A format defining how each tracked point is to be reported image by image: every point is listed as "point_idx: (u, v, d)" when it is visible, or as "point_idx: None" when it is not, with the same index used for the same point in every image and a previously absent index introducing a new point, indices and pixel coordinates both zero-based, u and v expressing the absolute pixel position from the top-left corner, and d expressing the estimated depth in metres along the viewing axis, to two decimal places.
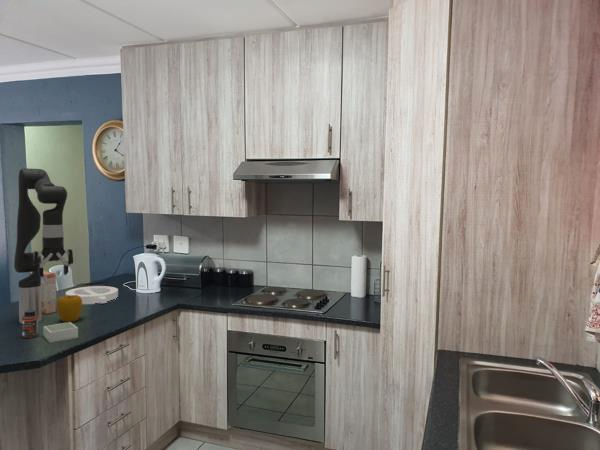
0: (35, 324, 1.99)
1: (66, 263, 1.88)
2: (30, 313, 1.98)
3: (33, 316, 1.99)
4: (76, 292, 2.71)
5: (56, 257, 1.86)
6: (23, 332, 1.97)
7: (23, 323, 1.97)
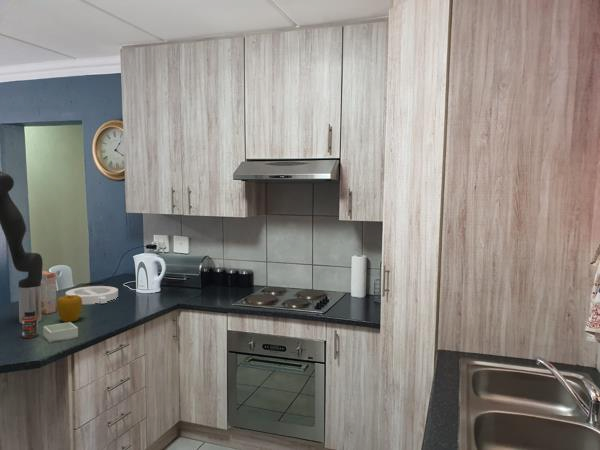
0: (35, 324, 1.99)
1: None
2: (30, 313, 1.98)
3: (33, 316, 1.99)
4: (76, 292, 2.71)
5: None
6: (23, 332, 1.97)
7: (23, 323, 1.97)
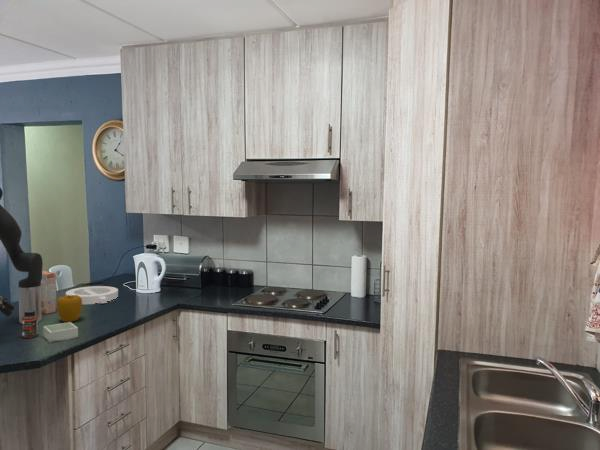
0: (35, 324, 1.99)
1: None
2: (30, 313, 1.98)
3: (33, 316, 1.99)
4: (76, 292, 2.71)
5: None
6: (23, 332, 1.97)
7: (23, 323, 1.97)
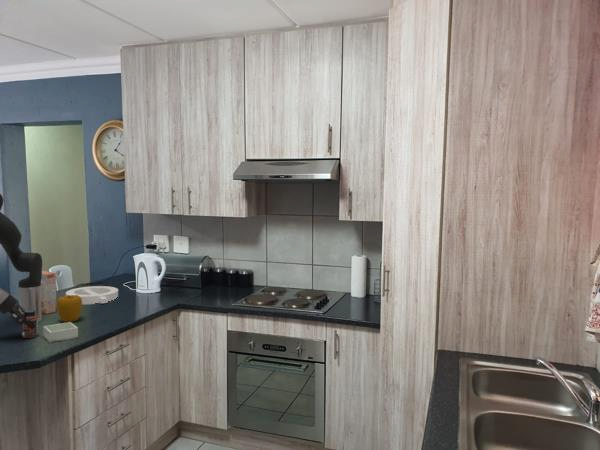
0: (35, 324, 1.99)
1: None
2: (30, 313, 1.98)
3: (33, 316, 1.99)
4: (76, 292, 2.71)
5: None
6: (23, 332, 1.97)
7: None
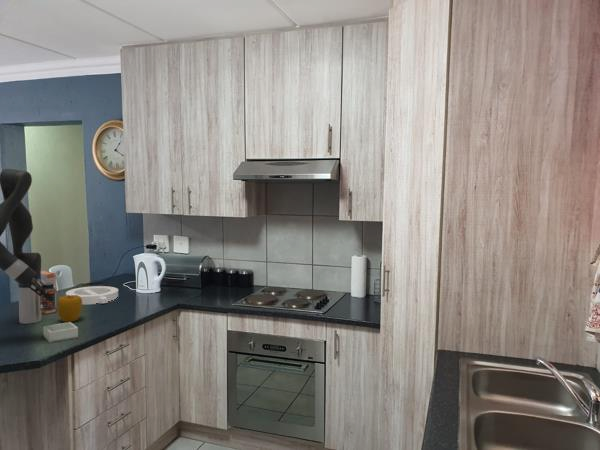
0: None
1: None
2: (48, 286, 1.96)
3: (51, 289, 1.97)
4: (76, 292, 2.71)
5: None
6: (41, 305, 1.96)
7: None
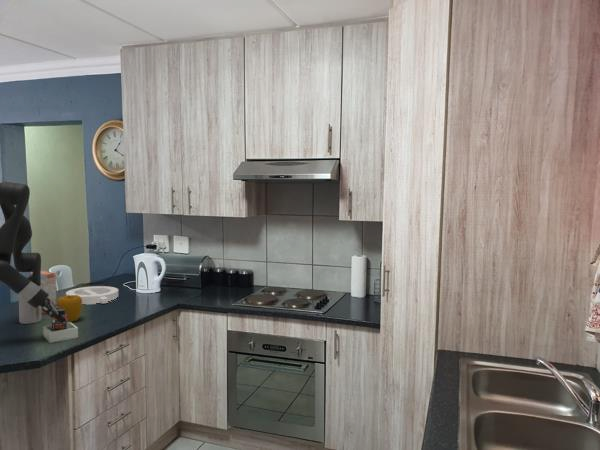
0: (65, 323, 1.99)
1: None
2: (60, 312, 1.98)
3: (63, 315, 1.98)
4: (76, 292, 2.70)
5: None
6: None
7: (53, 322, 1.97)
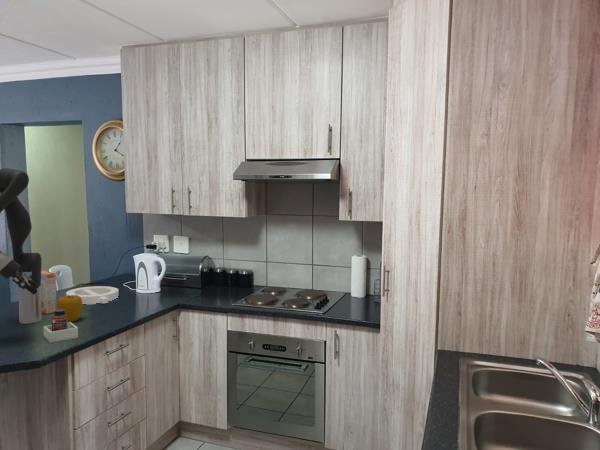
0: (65, 323, 1.99)
1: None
2: (60, 312, 1.97)
3: (63, 315, 1.98)
4: (76, 292, 2.70)
5: None
6: None
7: (54, 322, 1.96)
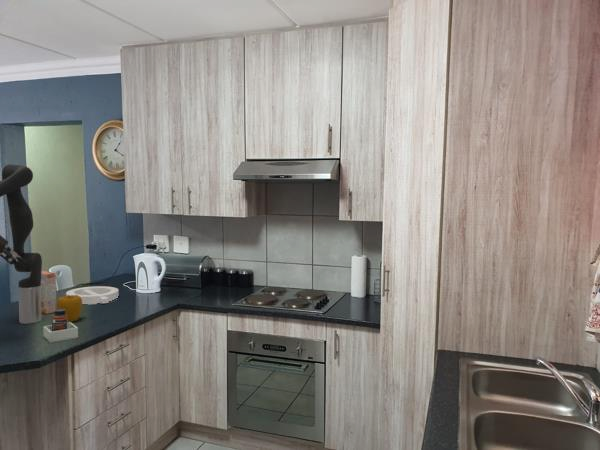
0: (65, 323, 1.99)
1: None
2: (61, 312, 1.98)
3: (64, 315, 1.98)
4: (76, 292, 2.70)
5: None
6: None
7: (54, 322, 1.97)
